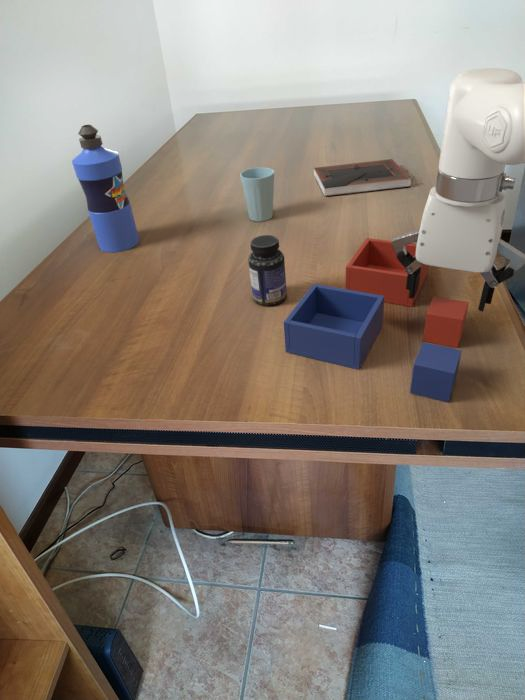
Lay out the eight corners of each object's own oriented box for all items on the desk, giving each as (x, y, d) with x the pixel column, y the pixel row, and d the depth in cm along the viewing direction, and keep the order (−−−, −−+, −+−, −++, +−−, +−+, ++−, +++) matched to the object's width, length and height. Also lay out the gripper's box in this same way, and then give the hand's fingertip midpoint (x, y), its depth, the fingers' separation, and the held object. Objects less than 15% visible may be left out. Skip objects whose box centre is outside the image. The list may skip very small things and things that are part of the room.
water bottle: (147, 235, 115) (119, 119, 99) (125, 254, 108) (92, 132, 93) (113, 233, 118) (81, 119, 102) (90, 250, 111) (52, 132, 96)
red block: (463, 329, 76) (468, 302, 73) (457, 348, 73) (463, 320, 70) (430, 323, 78) (434, 296, 75) (422, 341, 75) (426, 313, 72)
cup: (283, 218, 116) (280, 173, 109) (252, 226, 114) (247, 181, 107) (269, 208, 121) (265, 165, 115) (240, 215, 119) (235, 172, 113)
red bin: (427, 274, 90) (431, 245, 87) (412, 307, 82) (415, 277, 79) (365, 264, 95) (366, 237, 92) (345, 295, 87) (345, 266, 84)
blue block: (455, 379, 68) (461, 350, 65) (448, 402, 64) (454, 373, 61) (418, 370, 70) (422, 342, 67) (409, 393, 66) (413, 364, 63)
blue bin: (382, 326, 79) (384, 295, 75) (359, 369, 71) (360, 338, 68) (314, 312, 84) (313, 283, 80) (285, 352, 76) (283, 321, 72)
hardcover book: (324, 197, 124) (410, 187, 124) (324, 187, 123) (411, 177, 123) (314, 176, 137) (391, 167, 137) (313, 166, 136) (392, 158, 136)
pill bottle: (290, 290, 90) (287, 233, 83) (282, 308, 85) (278, 250, 79) (257, 288, 92) (252, 232, 85) (248, 305, 87) (241, 248, 80)
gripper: (547, 179, 61) (514, 297, 71) (405, 167, 68) (394, 277, 78) (543, 202, 56) (508, 326, 66) (390, 187, 63) (380, 302, 73)
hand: (446, 299), depth 72 cm, fingers open, 9 cm apart
